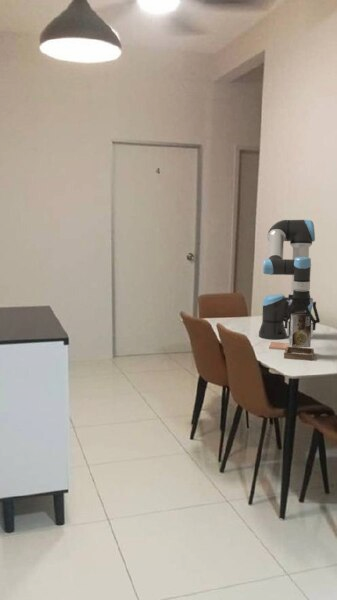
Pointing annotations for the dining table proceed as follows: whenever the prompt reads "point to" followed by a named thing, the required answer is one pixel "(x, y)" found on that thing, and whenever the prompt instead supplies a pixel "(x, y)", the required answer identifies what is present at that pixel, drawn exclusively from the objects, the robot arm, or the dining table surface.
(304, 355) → the tray
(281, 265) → the robot arm
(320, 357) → the dining table surface
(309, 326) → the coffee box
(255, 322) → the dining table surface
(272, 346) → the terracotta tile
